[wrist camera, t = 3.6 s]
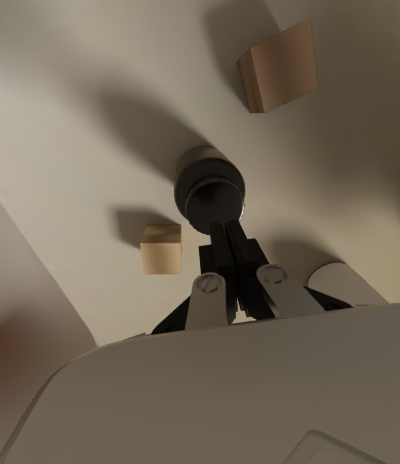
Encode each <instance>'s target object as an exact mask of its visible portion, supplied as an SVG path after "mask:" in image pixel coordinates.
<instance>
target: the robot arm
mask: <svg viewBox="0 0 400 464" xmlns="http://www.w3.org/2000/svg"><path fill="white" fill-rule="evenodd" d="M209 230H210V238H211V245H204V246H199V256H200V268H201V275H199V276H198V277H197V278H196V279H195V280H194V282H193V286H192V292H191V295H190V296H189V297H188V298H187V299H186V300H185V301H184V302H183V303H182V304H180V305H179V306H178V307H177V308H176V309H175V310H174V311H173V312H172V313H171V314H169V315H168V316H167V317H166V318H165V319H164V320H163V321H162V322H161V323H160V324H158V325H157V326H156V328H155V329H154V330H153V331H152V333H150V334H147V335H146V333H142V334H139V335H136V336H133V337H130V338H127V339H124V340H122V341H118V342H114V343H110V344H107V345H104V346H101V347H99V348H96V349H93V350H91V351H89V352H87V353H85V354H82V355H80V356H78V357H76V358H75V359H73V360H71V361H69V362H68V363H66V364H65V365H64V366H62V367H60V368H59V369H58V370H57V371H56V372H55V373H53V374H52V375H51V376H50V377H49V378H48V380H47V381H46V382H45V383H44V384H43V385H42V387H41V388H40V389H39V391H38V392H37V393H36V395H35V396H34V398H33V399H32V401H31V402H30V404H29V405H28V407H27V408H26V410H25V412H24V413H23V415H22V416H21V418H20V419H19V421H18V423H17V424H16V426H15V428H14V429H13V431H12V433H11V434H10V436H9V438H8V440H7V441H6V443H5V445H4V447H3V448H2V450H1V452H0V464H400V303H391V304H381V305H365V304H355V307H353V306H351V305H350V304H348V303H346V302H344V301H342V300H339V299H337V298H334V297H332V296H329V295H326V294H324V293H321V292H319V291H316V290H314V289H311V288H308V287H306V286H303V285H301V283H300V282H299V281H298V280H297V279H296V278H295V277H294V276H293V275H292V274H291V272H290V271H289V270H287V269H286V268H285V267H283V266H281V265H277V264H269V262H268V260H267V258H266V257H265V255H264V253H263V251H262V249H261V248H260V246H259V244H258V242H257V240H256V239H255V238H253V239H247V237H246V235H245V233H244V231H243V229H242V227H241V225H240V223H239V221H238V219H232V220H228V223H225V232H224V229H223V225H222V224H218V222H211V223H209ZM237 299H238V302H239V306H240V310H241V311H244V310H245V313H246V317H253V318H254V319H256V320H255V321H248V322H241V323H233V324H231V323H232V322H233V321H234V319H235V318H236V312H237V311H238V305H237Z"/></svg>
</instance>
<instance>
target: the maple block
mask: <svg viewBox="0 0 400 464" xmlns="http://www.w3.org/2000/svg"><path fill="white" fill-rule="evenodd" d="M140 247H141V255H142V264H143V272H144V274H181V255H182V246H181V225H146V228H145V231H144V233H143V236H142V239H141V242H140Z"/></svg>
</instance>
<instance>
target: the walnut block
mask: <svg viewBox="0 0 400 464" xmlns="http://www.w3.org/2000/svg"><path fill="white" fill-rule="evenodd" d="M237 62H238V66H239V70H240V74H241V78H242V82H243V86H244V90H245V94H246V98H247V102H248V106H249V110H250V113H265V112H267V111H270V110H272V109H274V108H276V107H278V106H281V105H283V104H285V103H287V102H289V101H292V100H294V99H296V98H298V97H300V96H302V95H305V94H307V93H309V92H311V91H313V90H316V89H318V84H317V74H316V65H315V55H314V45H313V35H312V25H311V18H309V19H307V20H305V21H303V22H301V23H299V24H297V25H295V26H293V27H291V28H289V29H287V30H285V31H283V32H281V33H279V34H277V35H275V36H273V37H271V38H269V39H267V40H265V41H263V42H261V43H260V44H258V45H256V46H254V47H252V48H250V49H249V50H248V51H247V52H246V53H245V54H244V55H243V56H242V57H241V58H240V59H239V60H238V61H237Z"/></svg>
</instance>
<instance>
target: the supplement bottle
mask: <svg viewBox="0 0 400 464" xmlns="http://www.w3.org/2000/svg"><path fill="white" fill-rule="evenodd" d="M174 198H175V203H176V206H177V208H178V210H179V211H180V213H181V214H182V215H183V216H184V217H185V218H186V219H187V220H188V221H189V222H190V225H192V226H193V228H194V229H196V230H197V231H198V232H201V233H202V234H206V235H210V230H209V223H211V222H218V224H222V225H223V229H224V232H225V223H228V220H232V219H238V221H239V222H240V221H241V218H242V217H243V213H244V207H245V204H244V198H245V183H244V179H243V177H242V175H241V173H240V171H239V170H238V169H237V168H236V166H235V165H234V164H233V163H232V162H230V161H229V160H228V159H227V158H226V157H225V156H224V155H223V154H222V153H221V152H220V151H218V150H217V149H215V148H212V147H209V146H198V147H194V148H192V149H190V150H188V151H187V152H186V153H185V154H184V155H183V156H182V157H181V159H180V160H179V162H178V165H177V169H176V176H175V185H174Z"/></svg>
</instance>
